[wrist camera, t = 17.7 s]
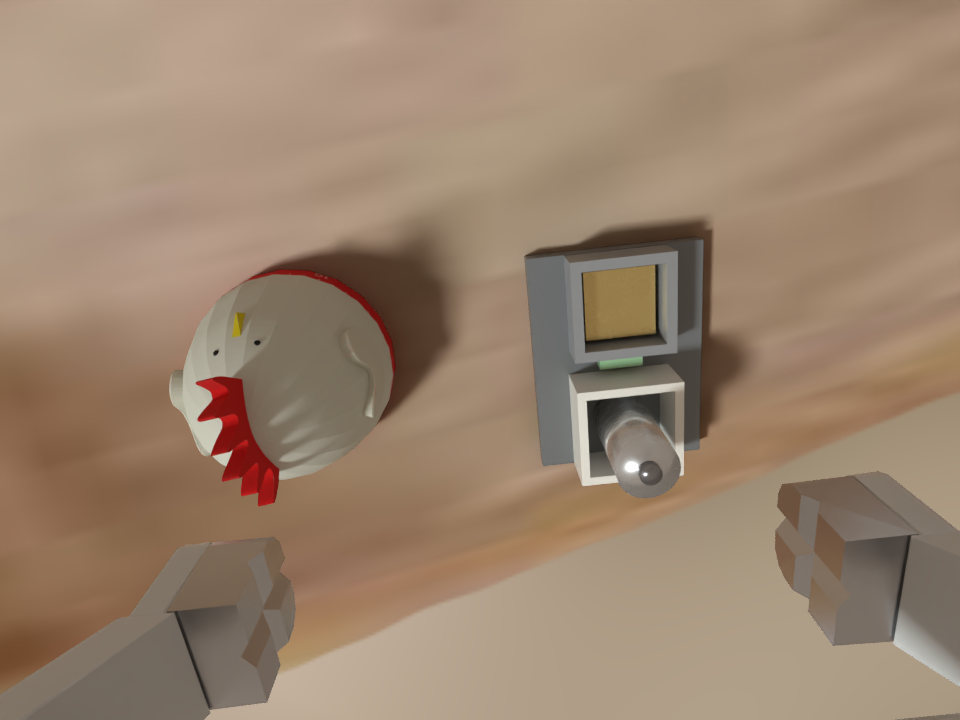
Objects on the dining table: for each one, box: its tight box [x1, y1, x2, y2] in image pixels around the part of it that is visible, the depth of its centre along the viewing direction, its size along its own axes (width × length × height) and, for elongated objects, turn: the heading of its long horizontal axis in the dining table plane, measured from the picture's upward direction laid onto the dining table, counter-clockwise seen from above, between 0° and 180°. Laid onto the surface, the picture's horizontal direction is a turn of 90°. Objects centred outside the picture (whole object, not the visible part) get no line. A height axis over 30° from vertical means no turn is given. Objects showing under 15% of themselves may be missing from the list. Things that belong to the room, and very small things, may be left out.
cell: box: [592, 395, 681, 498], centre depth 41 cm, size 4×4×9 cm
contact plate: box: [581, 265, 656, 341], centre depth 41 cm, size 5×5×1 cm
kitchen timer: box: [169, 270, 396, 506], centre depth 38 cm, size 14×14×15 cm
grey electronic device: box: [524, 237, 703, 486], centre depth 43 cm, size 12×16×5 cm
